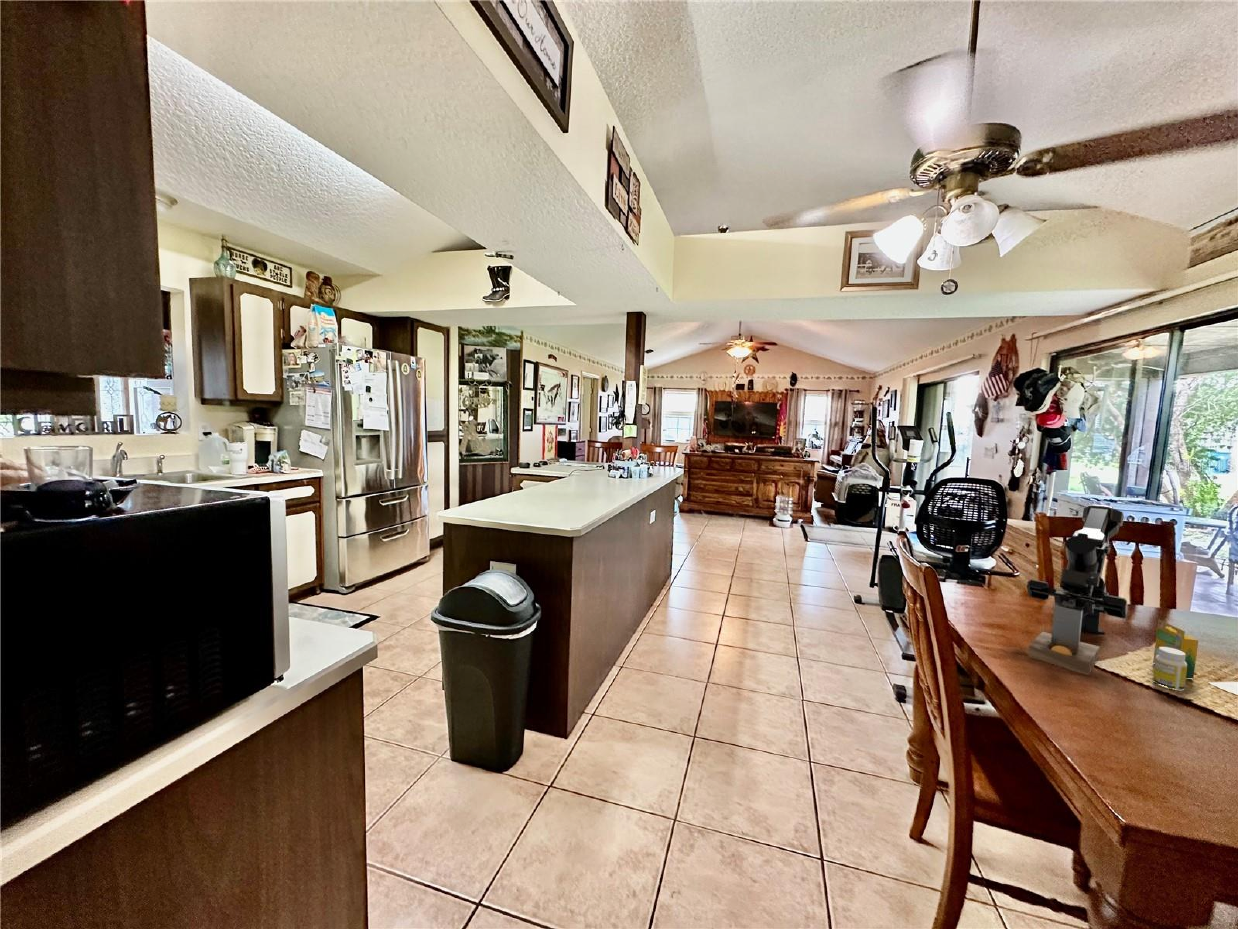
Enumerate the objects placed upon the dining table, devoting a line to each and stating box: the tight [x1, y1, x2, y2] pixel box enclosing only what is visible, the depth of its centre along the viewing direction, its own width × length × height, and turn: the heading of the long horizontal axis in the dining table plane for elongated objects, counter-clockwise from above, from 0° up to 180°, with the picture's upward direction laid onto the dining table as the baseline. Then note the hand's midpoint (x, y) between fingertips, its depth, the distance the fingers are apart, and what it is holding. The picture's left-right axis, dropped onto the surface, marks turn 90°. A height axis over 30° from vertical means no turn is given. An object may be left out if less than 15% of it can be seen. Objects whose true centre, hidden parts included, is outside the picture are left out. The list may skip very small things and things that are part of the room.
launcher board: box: [1027, 631, 1100, 676], centre depth 121 cm, size 14×11×3 cm
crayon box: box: [1152, 619, 1199, 679], centre depth 114 cm, size 7×3×12 cm, turn 166°
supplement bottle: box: [1152, 647, 1187, 690], centre depth 108 cm, size 5×5×8 cm
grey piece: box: [1051, 601, 1083, 650], centre depth 121 cm, size 2×5×11 cm, turn 38°
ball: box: [1051, 646, 1072, 655], centre depth 119 cm, size 4×4×4 cm
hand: (1067, 625), depth 121 cm, fingers closed
